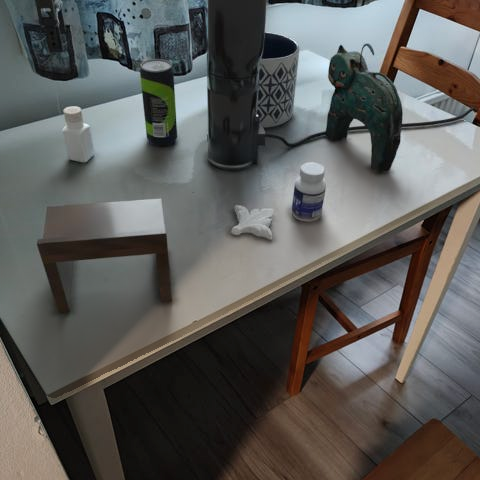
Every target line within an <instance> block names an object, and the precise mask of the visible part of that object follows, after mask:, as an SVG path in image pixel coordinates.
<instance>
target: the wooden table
mask: <svg viewBox="0 0 480 480" xmlns="http://www.w3.org/2000/svg"><path fill="white" fill-rule="evenodd" d="M162 199H163V198H150V199H149V198H148V199H136V200H135V199H133V200H120V201H108V202H93V203H78V204H66V205H52V206H46V211H45V212H46V213H45V220H44V229H43V234H42V238H38V239H36V246H37V251H38V253H39V255H40V260H41V262H42V266H43V269H44V272H45V275H46V278H47V280H48V285H49V288H50V290H51V293H52V297H53V300H54V303H55V306H56V309H57V312H58V313H67V312H71V302H72V285H73V269H74V262H76V261H88V260H98V259H110V258H121V257H133V256H145V255H155V257H156V267H157V275H158V283H159V293H160V302H161V303H166V302H173V291H172V280H171V269H170V259H169V248H168V247H169V245H168V235H167V234H168V233H167V229H166V223H165V215H164V207H163V200H162Z"/></svg>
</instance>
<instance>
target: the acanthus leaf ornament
mask: <svg viewBox="0 0 480 480" xmlns="http://www.w3.org/2000/svg"><path fill="white" fill-rule="evenodd" d="M248 210H249V209H247V207H245V206H244V205H240V204H239V205H238V204H235V206H234V213H235V214H236V219H237V221H238V222H239V223H238V224H237V225H235V226H233V227H232V229H231V234H232V235H233V236H240V235H241V234H245V233H246V234H247V233H249V234H252V235H254V236H256V237H262V238H266V239H268V240H271V241H272V240H273V234H272V230H271V229H270V226H271V224H272V219H273V218H274V216H275V215H274V213H275V209H274V208H271V207H269V208H267V207H266V208H265V207H264V208H262V209H261V210H260V209H259V208H254V209H252V210H251V211H250V213H249V211H248Z"/></svg>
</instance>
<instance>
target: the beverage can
mask: <svg viewBox="0 0 480 480" xmlns="http://www.w3.org/2000/svg"><path fill="white" fill-rule="evenodd" d="M172 66H173V64H172V63H171V61H169V60H167V59H163V58H150V59H146V60H144V61H142V62H141V63H140V70H139V75H140V76H139V78H140V86H141V95H142V105H143V111H144V112H143V115H144V124H145V134H146V135H145V136H146V140H147V141H148V142H150V144H151V145H153V146H156V147H167V146H168V147H169V146H172V145H173V144H174V143H175V142H176V140H177V139H178V126H177V125H178V124H177V108H176V91H175V89H176V88H175V75H174V68H173V67H172Z"/></svg>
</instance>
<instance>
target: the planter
mask: <svg viewBox="0 0 480 480" xmlns="http://www.w3.org/2000/svg"><path fill="white" fill-rule="evenodd" d="M299 58H300V45H299V43H298V42H297V41H296V40H295V39H293V38H291V37H289V36H287V35H284V34H280V33H277V32H276V33H275V32H269V31H265V35H264V48H263V54H262V57H261V60H260V71H259V89H258V108H257V112H258V115H259V117H260V123H262V126H263V128H264V129H267V128H274V127H277V126H280V125H283V124H285V123H286V122H288V121H289V120H290V119H291V118H292V116H293V113H294V105H295V96H296V87H297V78H298V77H297V76H298V68H299Z"/></svg>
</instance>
